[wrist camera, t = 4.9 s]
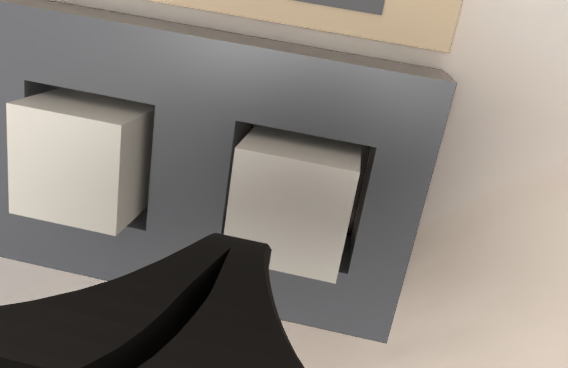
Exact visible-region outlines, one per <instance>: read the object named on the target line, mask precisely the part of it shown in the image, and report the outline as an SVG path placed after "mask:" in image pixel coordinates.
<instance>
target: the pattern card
mask: <svg viewBox="0 0 568 368" xmlns="http://www.w3.org/2000/svg"><path fill="white" fill-rule="evenodd" d="M148 1H153V2H159V3H165V4H171V5H176V6H182V7H188V8H194V9H199V10H205V11H211V12H217V13H222V14H228V15H234V16H240V17H245V18H251V19H257V20H263V21H268V22H274V23H280V24H286V25H291V26H297V27H303V28H309V29H314V30H320V31H326V32H332V33H337V34H343V35H349V36H355V37H360V38H366V39H372V40H378V41H383V42H389V43H395V44H401V45H406V46H412V47H418V48H424V49H429V50H435V51H441V52H447V53H449V51H450V47H451V43H452V39H453V36H454V32H455V28H456V24H457V20H458V16H459V12H460V9H461V5H462V1H463V0H148Z"/></svg>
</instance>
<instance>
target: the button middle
mask: <svg viewBox="0 0 568 368" xmlns="http://www.w3.org/2000/svg"><path fill="white" fill-rule="evenodd" d="M154 114H155V105H150V104H144V103H139V102H134V101H129V100H124V99H118V98H113V97H108V96H103V95H97V94H92V93H87V92H82V91H77V90H71V89H66V88H58V89H54V90H51V91H47V92H43V93H40V94H36V95H32V96H29V97H25V98H22V99H18V100H14V101H11V102H7V103H6V118H7V156H8V193H9V213H11V214H16V215H20V216H25V217H30V218H34V219H39V220H43V221H48V222H53V223H57V224H62V225H66V226H71V227H76V228H80V229H85V230H90V231H94V232H99V233H103V234H108V235H113V236H117V235H118V234H119V233H120V232H121V231H122V230H123V229H124V228H125V227H126V226H127V225H128V224H130V223H131V222H132V221H133V220H134V219H135V218H136V217H137V216H138V215H139V214H140V213H141V212H142V211H144V210H145V209H146V208H147V207H148V197H149V183H150V169H151V155H152V142H153V128H154Z"/></svg>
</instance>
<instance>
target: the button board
mask: <svg viewBox="0 0 568 368" xmlns="http://www.w3.org/2000/svg"><path fill="white" fill-rule="evenodd" d="M456 85H457V82H456V81H455V80H453V79H452V78H451V77H450V76H449V75H448V74H447V73H446V72H445V71H443V70H440V69H434V68H428V67H423V66H417V65H411V64H406V63H400V62H394V61H389V60H383V59H377V58H372V57H366V56H360V55H355V54H349V53H343V52H338V51H332V50H326V49H321V48H315V47H310V46H304V45H298V44H293V43H287V42H281V41H276V40H270V39H264V38H259V37H253V36H247V35H242V34H236V33H230V32H225V31H219V30H213V29H208V28H202V27H196V26H191V25H185V24H180V23H174V22H168V21H163V20H157V19H151V18H146V17H140V16H134V15H129V14H123V13H117V12H112V11H106V10H100V9H95V8H89V7H83V6H78V5H72V4H66V3H61V2H55V1H49V0H0V257H4V258H8V259H13V260H17V261H22V262H26V263H30V264H35V265H39V266H44V267H48V268H53V269H57V270H62V271H66V272H70V273H75V274H79V275H84V276H88V277H93V278H97V279H102V280H106V281H110V280H113V279H116V278H118V277H121V276H124V275H126V274H129V273H131V272H134V271H136V270H138V269H140V268H143V267H145V266H147V265H150V264H152V263H154V262H157V261H159V260H161V259H163V258H165V257H167V256H169V255H171V254H173V253H175V252H177V251H179V250H181V249H183V248H185V247H187V246H189V245H191V244H193V243H195V242H197V241H198V240H200V239H202V238H204V237H206V236H208V235H210V234H213V233H219V234H223V235H224V228H225V221H226V213H227V205H228V197H229V190H230V182H231V174H232V167H233V159H234V151H235V147H236V146H237V145H238V144H239V143H240V142H241V141H242V140H243V138H244V137H245V136H246V135H247V134H248V133H249V132H250V131H251V128H252V124H256V125H261V126H266V127H272V128H277V129H282V130H287V131H292V132H298V133H303V134H308V135H313V136H319V137H324V138H329V139H334V140H339V141H345V142H350V143H355V144H360V145H365V146H371V148H370V152H369V157H368V161H367V166H366V170H365V175H364V179H363V184H362V188H361V193H360V197H359V202H358V206H357V211H356V215H355V220H354V224H353V229H352V233H351V236H346V239H345V244H344V248H343V253H342V257H341V262H340V266H339V271H338V276H337V280H336V284H334V283H330V282H325V281H321V280H316V279H311V278H307V277H302V276H297V275H293V274H288V273H284V272H279V271H274V270H270V269H269V277H270V283H271V289H272V294H273V298H274V302H275V305H276V308H277V312H278V315H279V318H280V320H284V321H289V322H293V323H298V324H302V325H306V326H311V327H315V328H320V329H324V330H329V331H333V332H338V333H342V334H346V335H351V336H355V337H360V338H364V339H369V340H373V341H378V342H382V343H387V340H388V336H389V333H390V329H391V325H392V322H393V318H394V314H395V311H396V307H397V303H398V299H399V296H400V292H401V288H402V285H403V281H404V277H405V274H406V270H407V266H408V262H409V259H410V255H411V251H412V248H413V244H414V240H415V237H416V233H417V229H418V226H419V222H420V218H421V214H422V211H423V207H424V203H425V200H426V196H427V192H428V189H429V185H430V181H431V177H432V174H433V170H434V166H435V163H436V159H437V155H438V152H439V148H440V144H441V140H442V137H443V133H444V129H445V126H446V122H447V118H448V115H449V111H450V107H451V103H452V100H453V96H454V92H455V89H456ZM58 88H66V89H71V90H73V89H74V90H79V91H84V92H89V93H95V94H100V95H105V96H110V97H115V98H121V99H126V100H131V101H136V102H141V103H147V104H152V105H155V114H154V128H153V142H152V155H151V169H150V183H149V197H148V207H147V208H146V209H145V210H144V211H142V212H141V213H140V214H139V215H138V216H137V217H136V218H135V219H134V220H133V221H132V222H131V223H130V224H128V225H127V226H126V227H125V228H124V229H123V230H122V231H121V232H120V233H119V234H118V235H117V236H113V235H108V234H103V233H99V232H94V231H90V230H85V229H80V228H76V227H71V226H66V225H62V224H57V223H53V222H48V221H43V220H39V219H34V218H30V217H25V216H20V215H16V214H11V213H9V193H8V156H7V118H6V103H7V102H11V101H14V100H18V99H22V98H25V97H29V96H32V95H36V94H40V93H43V92H47V91H51V90H54V89H58Z"/></svg>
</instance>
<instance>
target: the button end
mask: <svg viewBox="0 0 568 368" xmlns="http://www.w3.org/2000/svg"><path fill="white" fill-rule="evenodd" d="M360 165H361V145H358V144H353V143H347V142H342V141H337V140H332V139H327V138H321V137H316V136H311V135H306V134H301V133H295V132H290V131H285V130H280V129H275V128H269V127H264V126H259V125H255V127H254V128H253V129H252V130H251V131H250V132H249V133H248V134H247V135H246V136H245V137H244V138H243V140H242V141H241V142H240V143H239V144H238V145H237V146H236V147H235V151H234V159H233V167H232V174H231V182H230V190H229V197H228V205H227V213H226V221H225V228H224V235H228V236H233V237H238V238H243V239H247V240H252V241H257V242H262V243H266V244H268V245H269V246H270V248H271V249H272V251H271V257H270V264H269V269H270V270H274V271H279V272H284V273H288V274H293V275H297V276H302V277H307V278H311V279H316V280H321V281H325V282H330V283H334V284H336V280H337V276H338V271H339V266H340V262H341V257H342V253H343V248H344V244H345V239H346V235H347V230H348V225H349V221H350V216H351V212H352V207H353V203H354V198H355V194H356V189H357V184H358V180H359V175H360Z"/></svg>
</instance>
